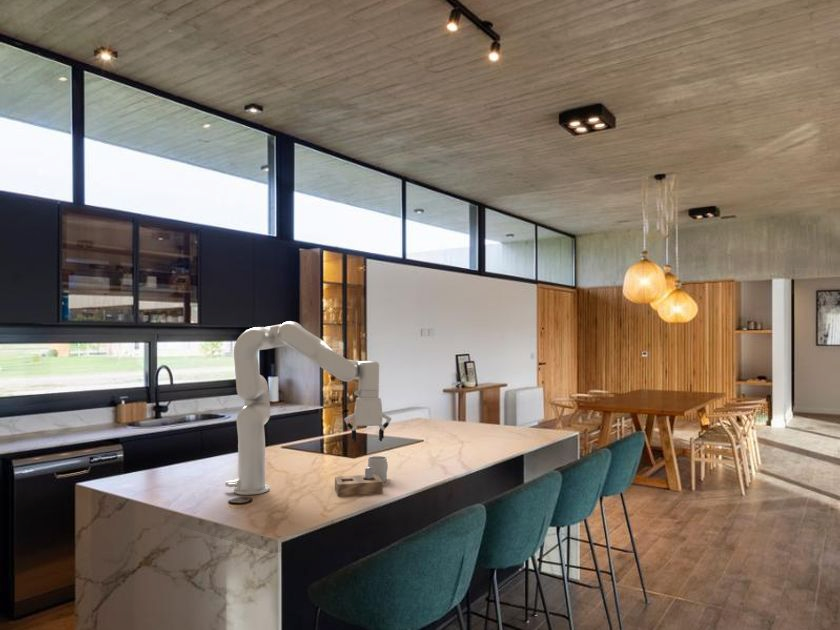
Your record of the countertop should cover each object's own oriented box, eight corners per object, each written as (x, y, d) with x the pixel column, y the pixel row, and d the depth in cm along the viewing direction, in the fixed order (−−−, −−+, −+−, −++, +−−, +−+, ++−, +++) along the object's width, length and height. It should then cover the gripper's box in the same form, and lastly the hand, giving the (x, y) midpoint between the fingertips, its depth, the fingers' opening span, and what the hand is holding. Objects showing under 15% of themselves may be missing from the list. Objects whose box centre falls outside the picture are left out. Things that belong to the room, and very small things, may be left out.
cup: (364, 482, 238) (364, 458, 238) (379, 476, 246) (379, 454, 246) (379, 484, 234) (379, 460, 234) (394, 478, 242) (394, 456, 243)
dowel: (365, 487, 224) (365, 468, 224) (364, 485, 227) (364, 466, 228) (374, 487, 225) (374, 468, 225) (372, 485, 228) (372, 466, 228)
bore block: (338, 495, 217) (337, 484, 218) (334, 487, 229) (334, 476, 229) (382, 492, 221) (382, 481, 221) (377, 484, 233) (377, 474, 233)
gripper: (346, 395, 221) (345, 443, 221) (393, 395, 225) (392, 442, 225) (343, 393, 229) (342, 439, 228) (389, 393, 233) (388, 438, 232)
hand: (367, 440), depth 226 cm, fingers open, 9 cm apart
